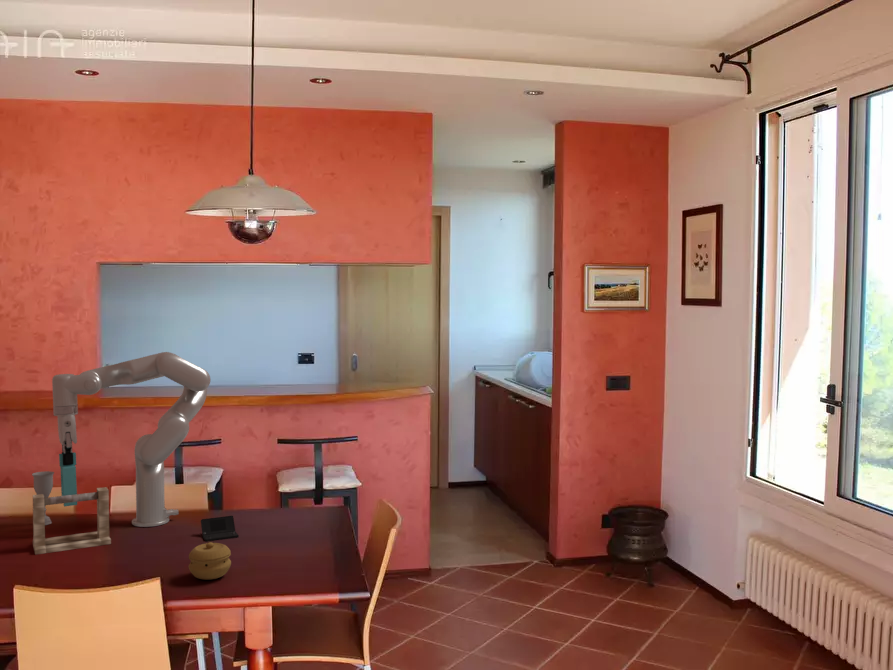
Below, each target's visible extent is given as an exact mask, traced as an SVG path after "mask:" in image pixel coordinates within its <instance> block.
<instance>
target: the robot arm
mask: <svg viewBox="0 0 893 670" xmlns="http://www.w3.org/2000/svg"><path fill="white" fill-rule="evenodd" d="M163 377H164V378H165V377H166V378H167V379H169V380H171V381H173V382H174V383H177V384H178V385H181V386H183V390H182V393H181V395H180V396H179V398H178V399H177V400H176V401H175V402H174V404H172V406H171V407H170V408H169V409H168V410H167V411H166V412H165V413H164V414H163V415H161V417H160V418H159V420H158V422H157V428H156V430H155V431H153V432H152V434H151V433H149V434H143V435H142V436H140V437H139V438H138V440H136V442H135V445H134V463H135V497H136V498H135V501H136V503H135V504H136V508H135V509H136V510H135V511H136V513H135V514H136V515H135V516H136V517H134V518H133V519H132V520H131V525H132V526H134V527H141V528H143V527H144V528H148V527H150V528H151V527H157V526H161V525H165V524H168V522H170V516H178V515H179V509H178V508H177V509H176V508H175V509H174V508H171V509H167V508H166V507H165V505H166V504H165V501H166V500H165V462H164V461H166V460H167V459H168V457H170V456H171V455H172V454H173V453H174V451H175V450H176V449H177V448H178V447H179V446H180V445H181V444H182V442H184V441H185V439H186V437H187V436H188V434H189V431H190V422H191V421H193V419H194V418H195V417H196V415H197V414H198V413H199V411H201V409H202V408H203V406H204V404H205V402H206V399H207V392H208V388H209V386H210V385H211V376H210V374H209V372H208V370H206V369H205V368H202V367H200V366H198V365H196V364H194V363H192V362H190V361H188V360H186V359H185V358H183V357H180V355H177V354H175V353H173V352H169V351H165V352H163V351H162V352H158V353H154V354H150V355H147V356H143V357H138V358H134V359H130V360H126V361H121V362H118V363H114V364H109V365H106V366H101V367H97V368H92V369H89V370H84V371H82V372H81V373H80V374H74V373H61V374H56V375H53V376H52V379H51V380H52V381H51V383H52V405H53V416H54V417H57V431H58V439H59V443H60V444H61V451H62V452H61V454H63V465H72V464H73V443H74V444H75V445H76V444H77V443H78V437H77V423H76V421H77V420H76V415H78V414H79V407H78V403H79V402H78V395H86V396H87V395H88V396H91V395H95V394H97V393H98V392H99V391H100V390H101V389H106V388H109V387H110V388H111V387H114V386H120V385H124V386H125V385H126V386H127V385H128V386H129V385H136V384H139V383H143V382H147V381H152V380H154V379H159V378H163Z"/></svg>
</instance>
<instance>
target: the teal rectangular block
mask: <svg viewBox="0 0 893 670" xmlns="http://www.w3.org/2000/svg"><path fill="white" fill-rule="evenodd" d="M72 453H73V464H72V465H63V454H62V453H59V454H58V460H59V467H60V469H59V470H60V483H61V484H60V488H61V489H60V491H61V492H60V493H61V496H66V495H75V494H78V486H77V466H76V465H77V454H76V452H75V451H72ZM77 505H78V502H71V503H63V507H72V506H77Z"/></svg>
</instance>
